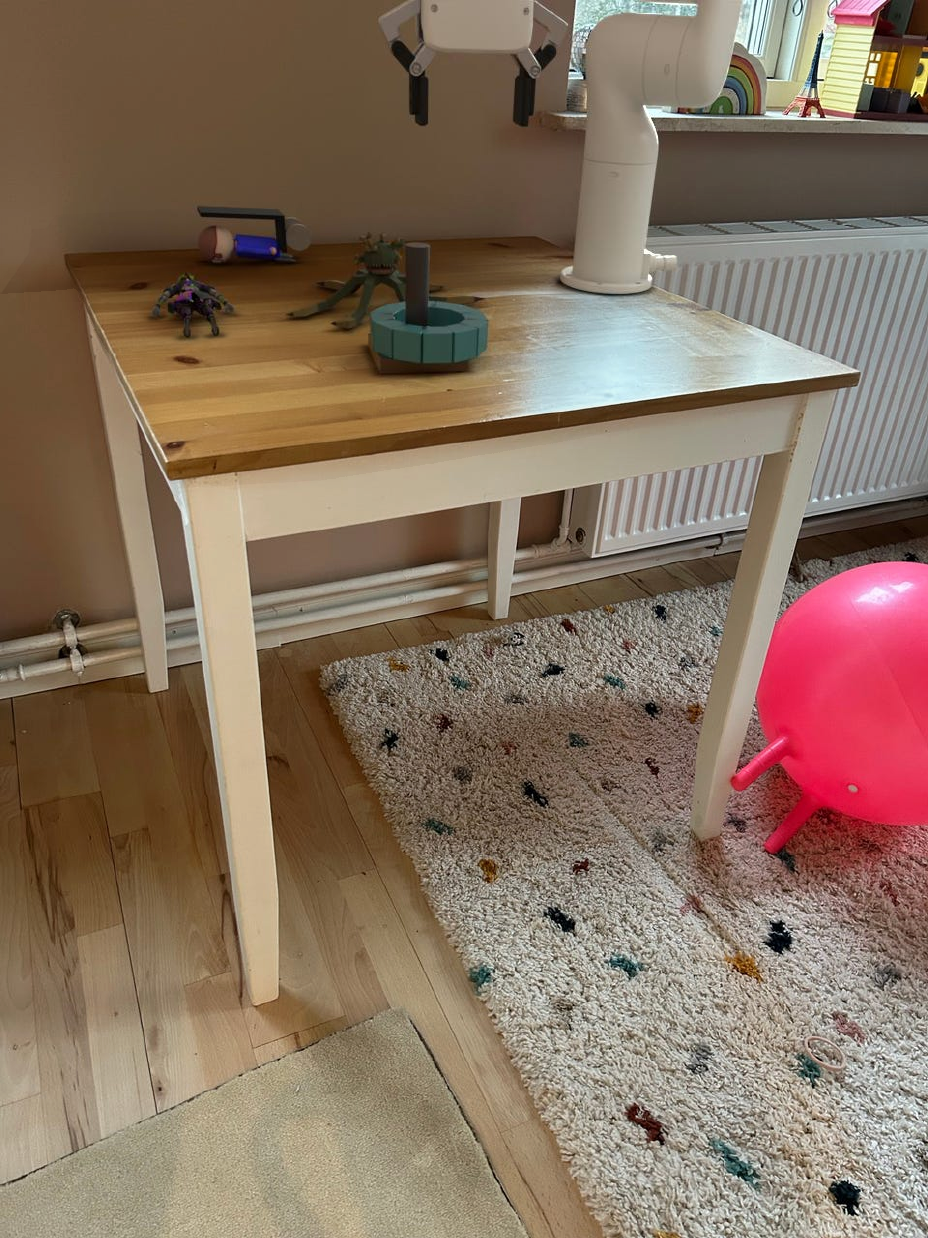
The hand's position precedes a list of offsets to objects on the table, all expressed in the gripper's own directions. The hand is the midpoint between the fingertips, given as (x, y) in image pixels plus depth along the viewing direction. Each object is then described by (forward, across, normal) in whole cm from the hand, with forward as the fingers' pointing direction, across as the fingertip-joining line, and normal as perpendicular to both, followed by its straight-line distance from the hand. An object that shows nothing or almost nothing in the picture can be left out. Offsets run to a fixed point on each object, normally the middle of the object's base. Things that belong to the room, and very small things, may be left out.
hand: (471, 124), depth 90 cm
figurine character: (+23, +20, -44) cm, 54 cm away
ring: (+21, +4, +1) cm, 21 cm away
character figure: (+22, +28, -17) cm, 40 cm away
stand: (+22, +5, 0) cm, 23 cm away
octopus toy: (+23, +5, -20) cm, 30 cm away
